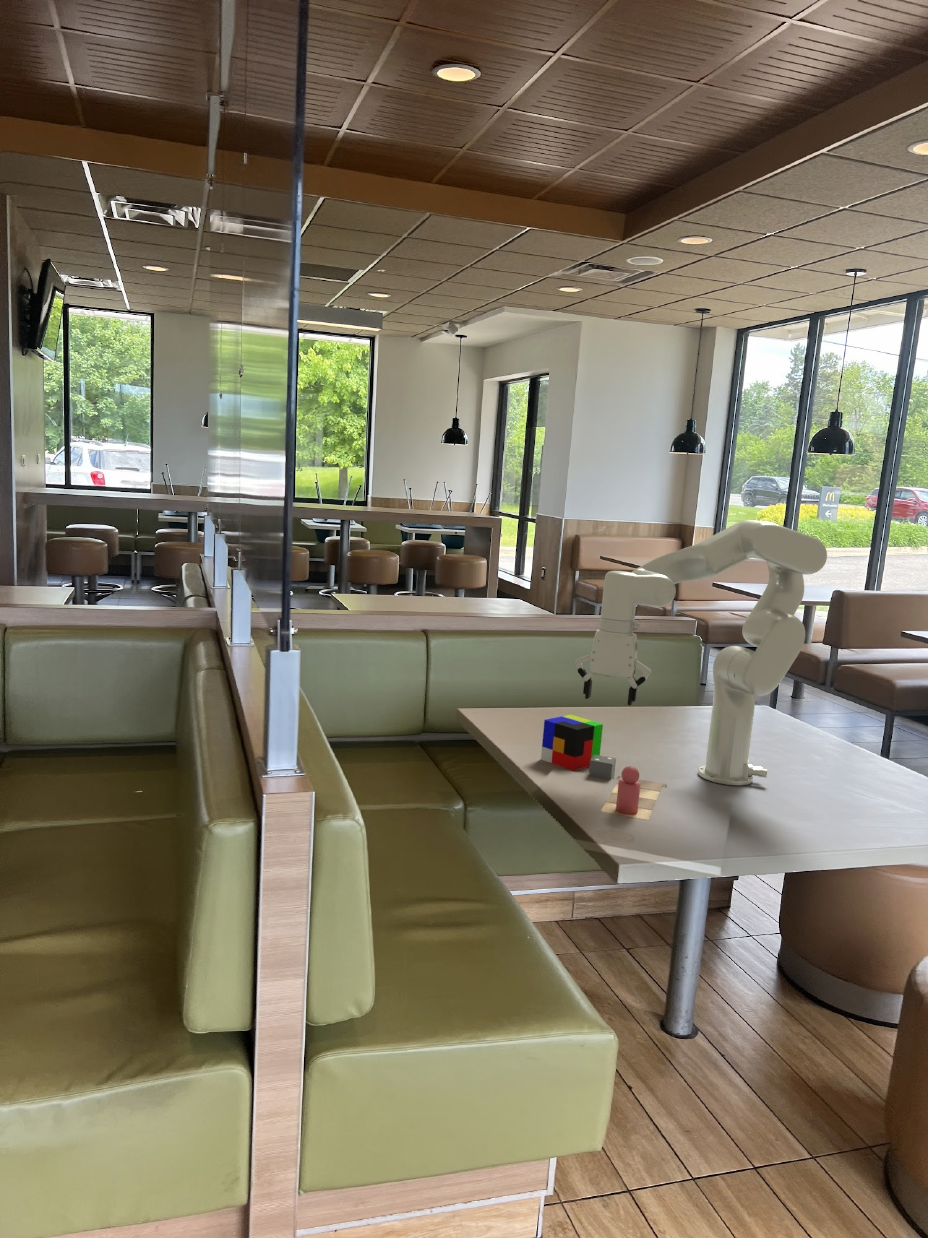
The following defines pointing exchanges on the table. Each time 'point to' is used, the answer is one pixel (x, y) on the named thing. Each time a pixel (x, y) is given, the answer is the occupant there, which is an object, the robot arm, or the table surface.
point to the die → (602, 767)
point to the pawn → (628, 791)
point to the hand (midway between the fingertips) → (608, 701)
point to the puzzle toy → (571, 741)
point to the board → (642, 802)
